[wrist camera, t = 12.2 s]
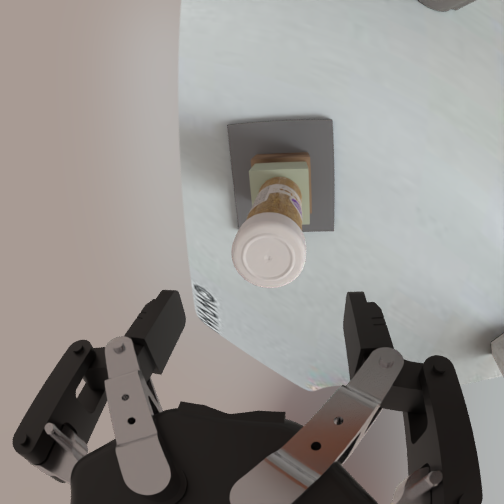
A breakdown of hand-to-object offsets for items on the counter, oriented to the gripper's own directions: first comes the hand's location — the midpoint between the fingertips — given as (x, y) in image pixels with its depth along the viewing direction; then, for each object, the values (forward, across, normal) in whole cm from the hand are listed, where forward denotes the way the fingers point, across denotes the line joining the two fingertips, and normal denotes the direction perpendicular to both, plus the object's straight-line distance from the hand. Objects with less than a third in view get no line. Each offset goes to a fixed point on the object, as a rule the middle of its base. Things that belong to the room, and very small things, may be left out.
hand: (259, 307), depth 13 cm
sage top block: (+23, 0, 0) cm, 23 cm away
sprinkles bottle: (+18, 0, 0) cm, 18 cm away
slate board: (+29, 0, 0) cm, 29 cm away
